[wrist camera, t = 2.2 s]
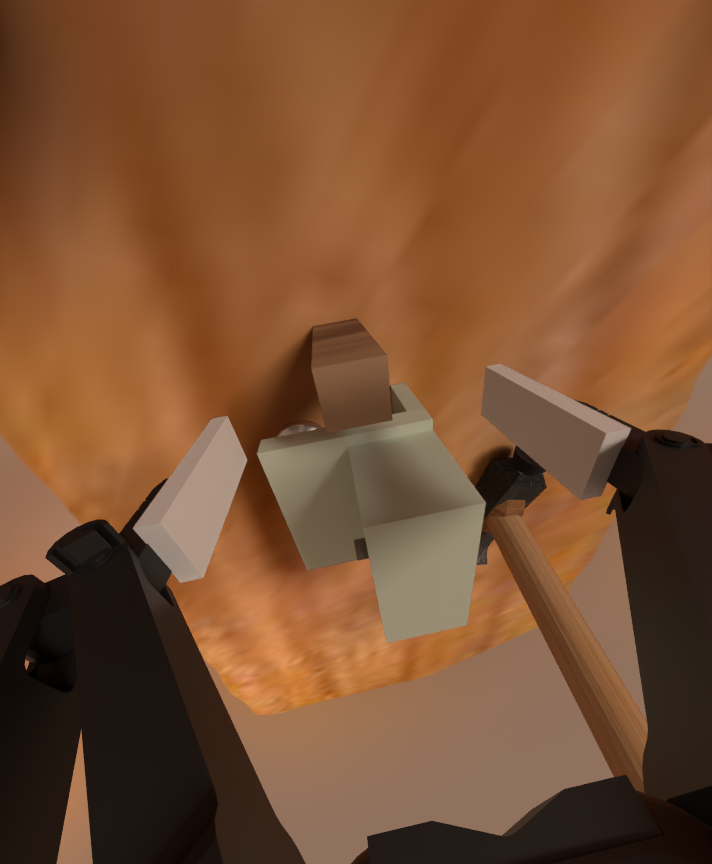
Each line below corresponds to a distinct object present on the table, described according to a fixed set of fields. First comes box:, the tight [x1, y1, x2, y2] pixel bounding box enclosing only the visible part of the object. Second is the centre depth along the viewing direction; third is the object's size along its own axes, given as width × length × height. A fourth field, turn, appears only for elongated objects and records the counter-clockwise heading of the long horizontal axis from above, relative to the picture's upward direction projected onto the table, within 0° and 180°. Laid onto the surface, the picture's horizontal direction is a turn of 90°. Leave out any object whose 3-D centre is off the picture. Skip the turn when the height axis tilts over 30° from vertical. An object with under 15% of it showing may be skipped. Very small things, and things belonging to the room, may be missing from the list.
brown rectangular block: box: [311, 319, 393, 433], centre depth 24 cm, size 18×4×12 cm, turn 9°
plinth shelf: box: [257, 383, 486, 643], centre depth 25 cm, size 16×14×16 cm
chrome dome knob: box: [276, 420, 322, 437], centre depth 30 cm, size 6×6×2 cm
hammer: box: [475, 446, 648, 793], centre depth 28 cm, size 20×5×30 cm, turn 173°
